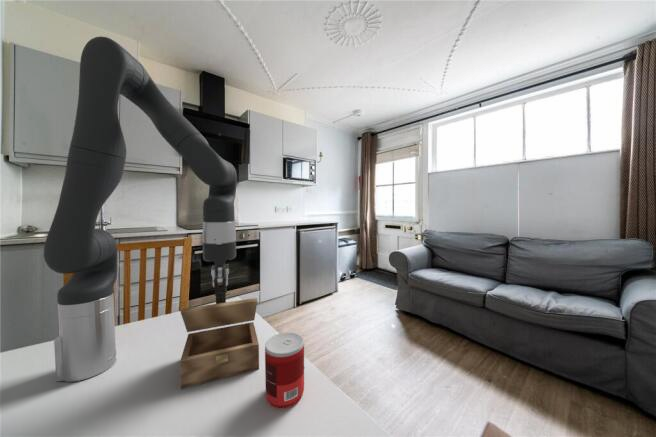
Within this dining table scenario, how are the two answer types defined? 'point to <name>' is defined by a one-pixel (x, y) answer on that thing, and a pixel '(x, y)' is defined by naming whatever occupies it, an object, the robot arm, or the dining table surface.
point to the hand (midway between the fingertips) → (221, 308)
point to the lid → (219, 314)
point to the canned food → (284, 369)
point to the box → (219, 354)
